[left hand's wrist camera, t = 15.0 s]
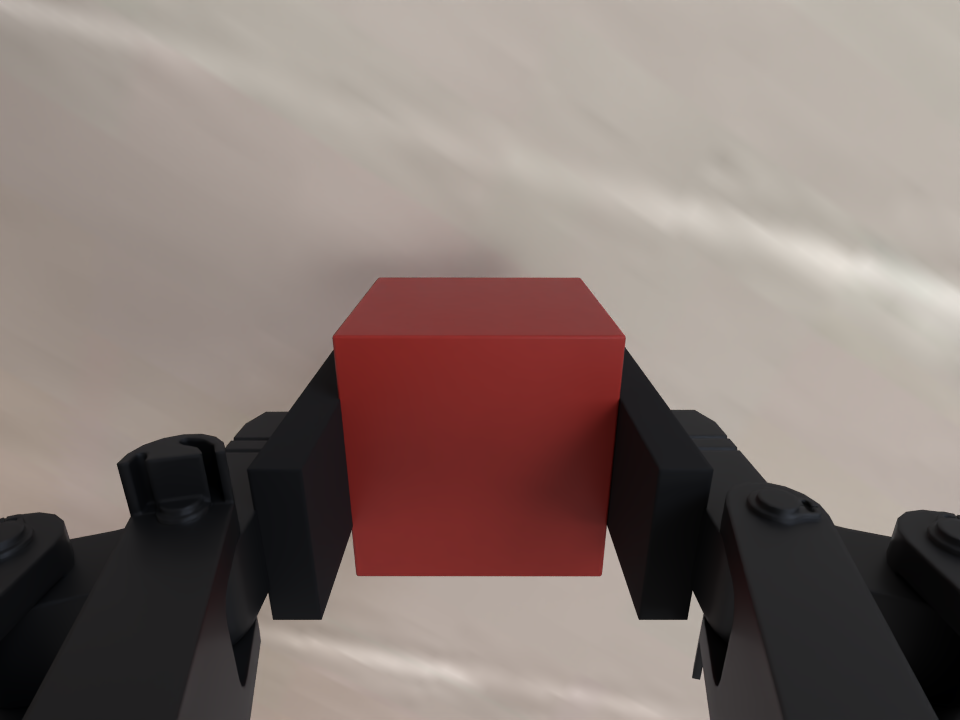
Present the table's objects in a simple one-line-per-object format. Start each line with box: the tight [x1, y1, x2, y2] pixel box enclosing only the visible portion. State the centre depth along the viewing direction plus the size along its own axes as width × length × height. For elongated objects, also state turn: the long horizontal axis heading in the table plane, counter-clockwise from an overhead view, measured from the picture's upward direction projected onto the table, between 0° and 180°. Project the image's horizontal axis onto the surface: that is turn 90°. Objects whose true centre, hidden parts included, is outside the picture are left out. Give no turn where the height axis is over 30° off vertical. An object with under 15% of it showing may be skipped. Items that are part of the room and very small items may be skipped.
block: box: [333, 278, 626, 576], centre depth 12 cm, size 5×5×4 cm
